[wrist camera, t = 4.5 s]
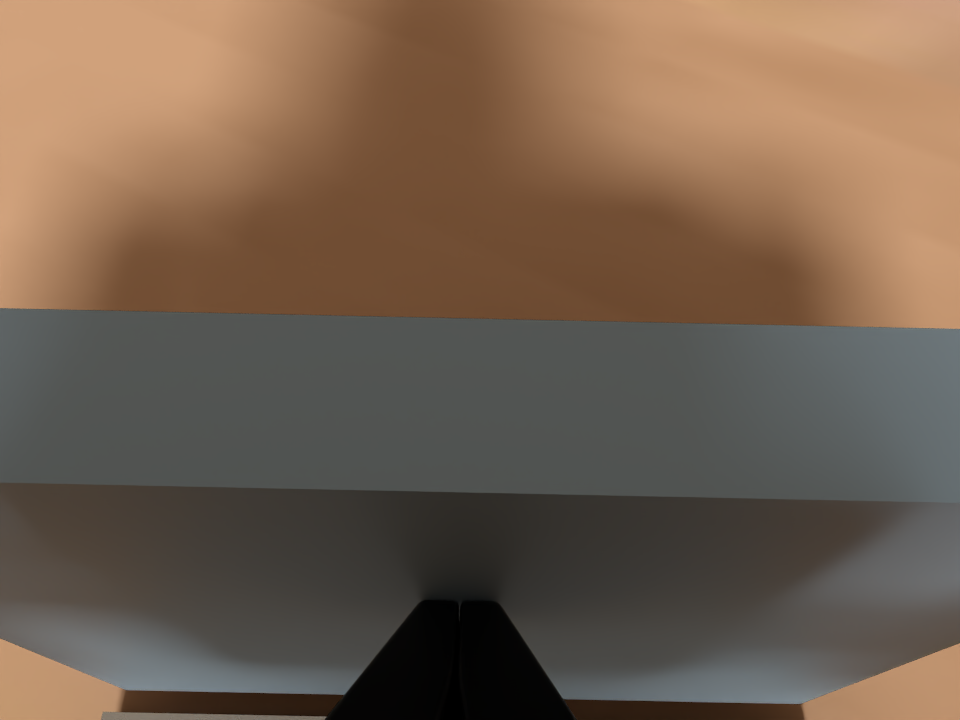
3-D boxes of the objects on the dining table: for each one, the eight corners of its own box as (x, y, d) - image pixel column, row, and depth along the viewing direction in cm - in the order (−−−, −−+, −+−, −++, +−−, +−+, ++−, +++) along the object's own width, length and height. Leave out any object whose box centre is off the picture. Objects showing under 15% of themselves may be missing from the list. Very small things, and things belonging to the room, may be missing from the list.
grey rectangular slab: (800, 703, 13) (1307, 510, 5) (126, 690, 13) (-400, 473, 5) (779, 596, 14) (1176, 295, 6) (153, 582, 14) (-251, 264, 6)
